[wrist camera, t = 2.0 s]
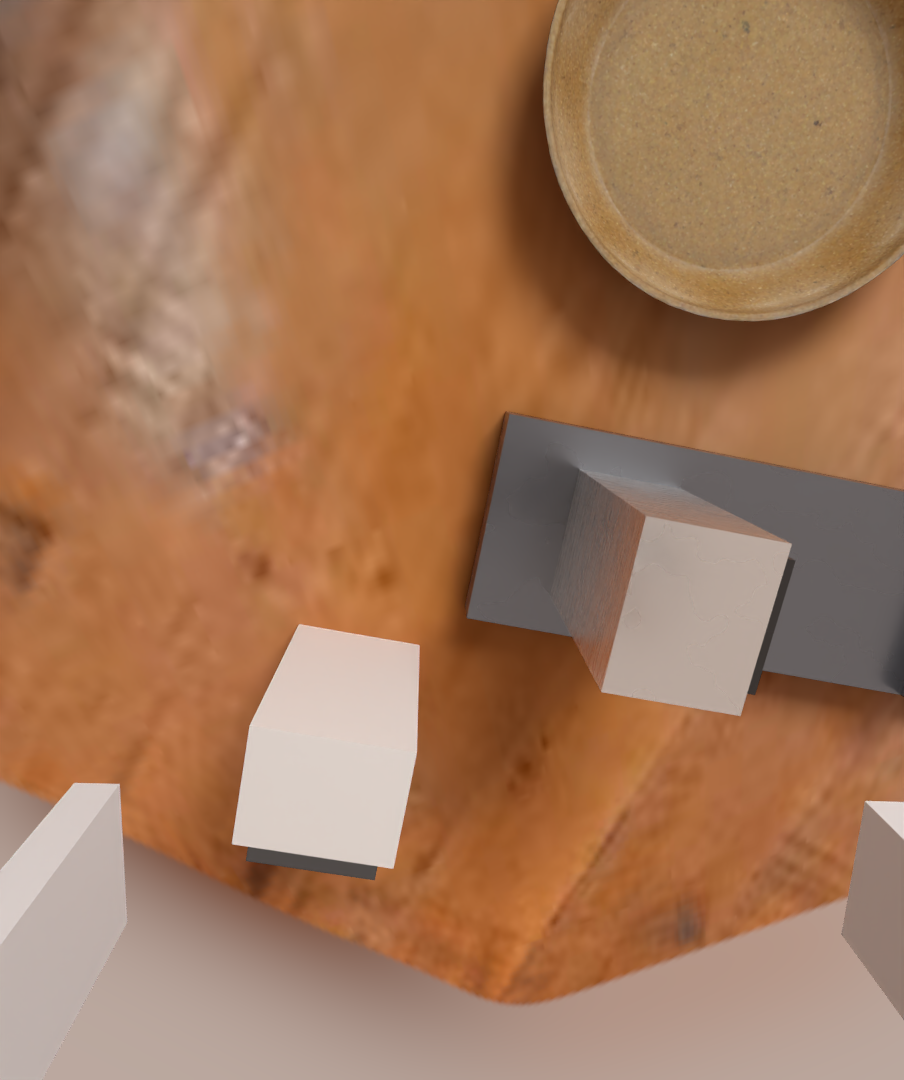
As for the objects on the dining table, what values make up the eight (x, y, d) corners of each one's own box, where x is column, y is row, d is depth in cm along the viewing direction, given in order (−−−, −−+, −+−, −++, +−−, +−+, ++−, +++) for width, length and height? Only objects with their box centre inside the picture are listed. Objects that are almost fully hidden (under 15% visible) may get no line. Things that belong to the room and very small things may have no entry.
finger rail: (464, 606, 32) (483, 723, 21) (505, 411, 30) (546, 437, 20) (1096, 718, 34) (1389, 875, 23) (1168, 542, 32) (1518, 627, 22)
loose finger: (298, 624, 32) (249, 725, 23) (419, 645, 32) (416, 752, 23) (282, 724, 32) (229, 858, 24) (400, 743, 33) (390, 882, 24)
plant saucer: (480, -42, 27) (486, -85, 24) (897, -189, 26) (949, -248, 23) (594, 375, 30) (609, 376, 27) (966, 253, 29) (1018, 243, 27)
